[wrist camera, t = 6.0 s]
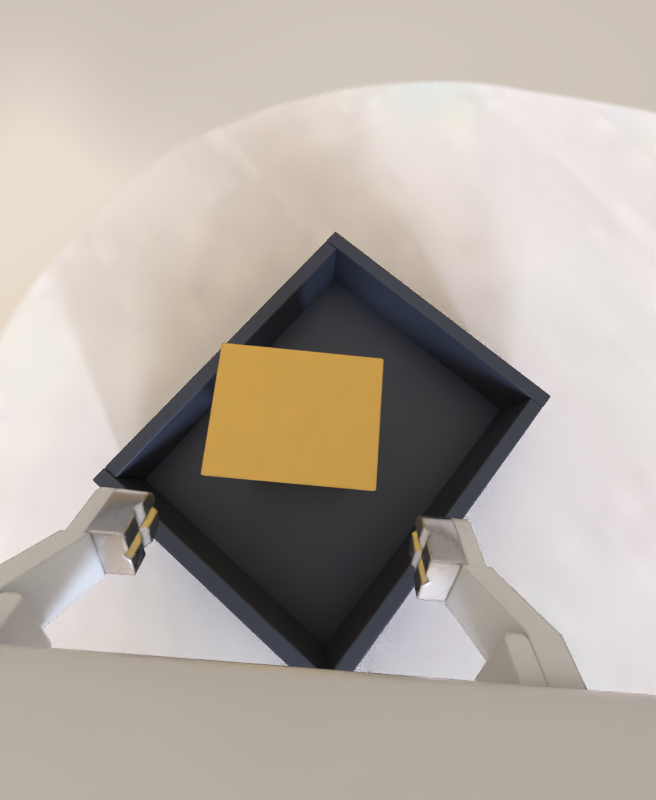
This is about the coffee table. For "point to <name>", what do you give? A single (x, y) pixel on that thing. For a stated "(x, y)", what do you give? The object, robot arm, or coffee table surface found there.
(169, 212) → the coffee table surface
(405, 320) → the pan
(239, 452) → the cheese
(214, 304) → the coffee table surface
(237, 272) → the coffee table surface
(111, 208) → the coffee table surface
